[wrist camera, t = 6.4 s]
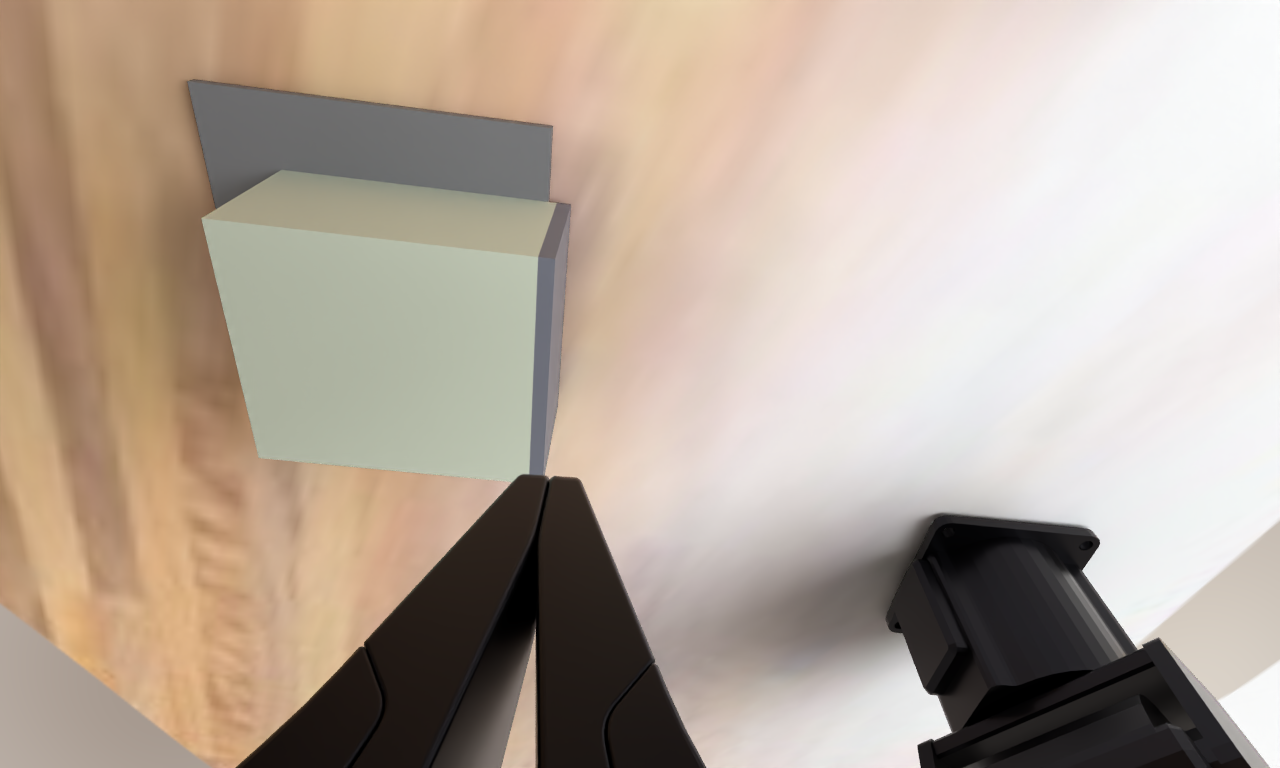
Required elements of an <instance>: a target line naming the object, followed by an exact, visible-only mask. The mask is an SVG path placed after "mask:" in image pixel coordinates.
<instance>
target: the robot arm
mask: <svg viewBox="0 0 1280 768" xmlns="http://www.w3.org/2000/svg"><path fill="white" fill-rule="evenodd" d="M946 528H948V529H946ZM944 529H945V530H944ZM1099 545H1100V540H1099V539H1098V538H1097V536H1096V535H1095V534H1094V532H1093V531H1091V530H1089V529H1083V528H1073V527H1062V526H1052V525H1042V524H1032V523H1021V522H1011V521H1001V520H990V519H980V518H970V517H960V516H942V517H939V518H937V519H936V520H934V522H933V523H932V525H931V527H930V529H929V531H928V533H927V535H926V537H925V539H924V541H923V543H922V545H921V547H920V549H919V551H918V553H917V555H916V557H915V559H914V561H913V562H912V563H911V564H910V567H909V569H908V571H907V573H906V575H905V577H904V579H903V581H902V583H901V585H900V587H899V589H898V591H897V593H896V595H895V597H894V599H893V601H892V605H891V607H890V609H889V611H888V614H887V616H886V622H887V625H888V627H889V630H891V631H892V632H896V633H903V635H904V637H905V640H906V643H907V645H908V648H909V651H910V653H911V656H912V659H913V661H914V664H915V666H916V669H917V672H918V674H919V677H920V680H921V682H922V685H923V687H924V689H925V690H926V691H927V692H928V694H930V695H937V696H938V698H939V701H940V703H941V706H942V708H943V711H944V713H945V716H946V718H947V721H948V724H949V726H950V729H951V731H952V733H950V734H948V735H946V736H944V737H941V738H939V739H937V740H935V741H934V740H933V739H930V740H927V741H925V742H923V743H921V744H918V753H919V759H920V766H921V768H1270V767H1269V766H1268V764H1267V763H1266V762H1265V761H1264V759H1263V758H1262V757H1261V755H1260V754H1259V753H1258V752H1257V750H1256V749H1255V748H1254V747H1253V745H1252V744H1251V743H1250V741H1249V740H1248V739H1247V738H1246V736H1245V735H1244V734H1243V733H1242V731H1241V730H1240V729H1239V727H1238V726H1237V725H1236V724H1235V722H1234V721H1233V720H1232V719H1231V717H1230V716H1229V715H1228V714H1227V712H1226V711H1225V710H1224V708H1223V707H1222V706H1221V705H1220V703H1219V702H1218V701H1217V700H1216V699H1215V697H1214V696H1213V695H1212V694H1211V693H1210V692H1209V691H1208V690H1207V689H1206V688H1205V686H1204V685H1203V684H1202V683H1201V682H1200V681H1199V680H1198V679H1197V678H1196V677H1195V676H1194V675H1193V674H1192V672H1191V671H1190V670H1189V669H1188V668H1187V667H1186V666H1185V665H1184V664H1183V663H1182V662H1181V661H1180V659H1178V657H1177V656H1176V655H1175V654H1174V653H1173V652H1172V651H1171V650H1170V649H1169V648H1168V647H1167V645H1166V644H1165V643H1164V642H1163V641H1162V640H1161V639H1160V638H1156V639H1154V640H1152V641H1150V642H1147V643H1145V644H1143V645H1142V646H1143V647H1144V648H1142V649H1140V650H1137V648H1136V647H1135V645H1134V644H1133V643H1132V641H1131V640H1130V638H1129V637H1128V636H1127V634H1126V633H1125V631H1124V630H1123V628H1122V627H1121V626H1120V624H1119V623H1118V621H1117V620H1116V619H1115V617H1114V616H1113V614H1112V613H1111V611H1110V610H1109V609H1108V607H1107V606H1106V604H1105V603H1104V602H1103V600H1102V599H1101V597H1100V596H1099V594H1098V593H1097V592H1096V590H1095V589H1094V587H1093V586H1092V584H1091V583H1090V582H1089V580H1088V579H1087V577H1086V576H1085V575H1084V573H1083V572H1082V570H1083V568H1084V567H1085V566H1086V564H1087V563H1088V561H1089V560H1090V558H1091V557H1092V556H1093V554H1094V553H1095V551H1096V550H1097V548H1098V547H1099ZM535 629H536V768H706V766H705V764H704V763H703V761H702V759H701V757H700V755H699V753H698V751H697V749H696V748H695V746H694V744H693V742H692V740H691V738H690V736H689V734H688V733H687V731H686V729H685V727H684V725H683V722H682V720H681V718H680V716H679V714H678V711H677V709H676V707H675V705H674V703H673V700H672V698H671V696H670V694H669V692H668V689H667V687H666V685H665V682H664V680H663V677H662V675H661V672H660V670H659V668H658V666H657V665H656V664H655V659H654V656H653V654H652V652H651V649H650V647H649V644H648V642H647V639H646V637H645V635H644V632H643V630H642V627H641V625H640V622H639V620H638V618H637V615H636V613H635V610H634V608H633V606H632V603H631V601H630V598H629V596H628V593H627V591H626V589H625V586H624V584H623V581H622V579H621V576H620V574H619V572H618V569H617V567H616V564H615V562H614V560H613V557H612V555H611V552H610V550H609V547H608V545H607V543H606V540H605V538H604V535H603V533H602V530H601V528H600V526H599V523H598V521H597V518H596V516H595V514H594V511H593V509H592V506H591V504H590V501H589V499H588V497H587V494H586V492H585V489H584V487H583V484H582V482H581V481H580V479H578V478H574V477H561V476H554V477H552V478H551V479H550V480H549V478H548V477H547V476H545V475H533V474H521V475H519V476H518V477H517V478H516V479H515V480H514V481H513V482H512V483H511V484H510V485H509V486H508V488H507V489H506V490H505V491H504V492H503V493H502V494H501V495H500V496H499V497H498V498H497V499H496V501H495V502H494V503H493V504H492V505H491V506H490V507H489V508H488V509H487V510H486V511H485V512H484V513H483V515H482V516H481V517H480V518H479V519H478V520H477V521H476V522H475V523H474V524H473V525H472V526H471V528H470V529H469V530H468V531H467V532H466V533H465V534H464V535H463V536H462V537H461V538H460V539H459V540H458V542H457V543H456V544H455V545H454V546H453V547H452V548H451V549H450V550H449V551H448V552H447V553H446V555H445V556H444V557H443V558H442V559H441V560H440V561H439V562H438V563H437V564H436V565H435V566H434V567H433V569H432V570H431V571H430V572H429V573H428V574H427V575H426V576H425V577H424V578H423V579H422V580H421V582H420V583H419V584H418V585H417V586H416V587H415V588H414V589H413V590H412V591H411V592H410V593H409V594H408V596H407V597H406V598H405V599H404V600H403V601H402V602H401V603H400V604H399V605H398V606H397V607H396V609H395V610H394V611H393V612H392V613H391V614H390V615H389V616H388V617H387V618H386V619H385V620H384V621H383V623H382V624H381V625H380V626H379V627H378V628H377V629H376V630H375V631H374V632H373V633H372V634H371V636H370V637H369V638H368V639H367V640H366V641H365V642H364V647H359V648H358V649H357V650H356V651H355V652H354V653H353V654H352V656H351V657H350V658H349V659H348V660H347V661H346V662H345V663H344V664H343V665H342V667H341V668H340V669H339V670H338V671H337V672H336V673H335V674H334V675H333V676H332V677H331V678H330V679H329V680H328V681H327V682H326V683H325V684H324V685H323V686H322V687H321V688H320V689H319V690H318V691H317V692H316V693H315V694H314V695H313V696H312V697H311V698H310V699H309V701H308V702H307V703H306V704H305V705H304V706H303V707H301V708H300V709H299V710H298V711H297V712H296V713H295V714H294V715H293V716H292V717H291V718H290V719H288V720H287V721H286V722H285V723H284V724H283V725H282V726H281V727H280V728H279V729H278V730H277V731H276V732H274V733H273V734H272V735H271V736H270V737H269V738H268V739H267V740H266V741H265V742H264V743H263V744H262V745H260V746H259V747H258V748H257V749H256V750H255V751H254V752H253V753H251V754H250V755H249V756H248V757H247V758H246V759H245V760H244V761H242V762H241V763H240V764H239V765H238V766H237V767H236V768H501V766H502V762H503V758H504V754H505V750H506V746H507V742H508V738H509V734H510V731H511V727H512V723H513V719H514V715H515V711H516V707H517V703H518V699H519V695H520V691H521V688H522V684H523V680H524V676H525V672H526V668H527V664H528V660H529V656H530V652H531V648H532V644H533V639H534V635H535Z"/></svg>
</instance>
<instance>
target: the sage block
mask: <svg viewBox="0 0 1280 768" xmlns="http://www.w3.org/2000/svg"><path fill="white" fill-rule="evenodd" d="M570 213H571V205H570V204H562V203H554V202H545V201H537V200H529V199H520V198H512V197H504V196H496V195H487V194H479V193H471V192H462V191H454V190H446V189H437V188H429V187H421V186H412V185H404V184H396V183H387V182H379V181H371V180H363V179H354V178H346V177H338V176H329V175H321V174H313V173H304V172H296V171H288V170H280V171H279V172H277V173H275V174H274V175H272V176H270V177H269V178H267V179H265V180H264V181H262V182H260V183H259V184H257V185H256V186H254V187H252V188H251V189H249V190H247V191H246V192H244V193H242V194H241V195H239V196H237V197H236V198H234V199H232V200H231V201H229V202H227V203H226V204H224V205H222V206H221V207H219V208H217V209H216V210H214V211H212V212H211V213H209V214H207V215H206V216H204V217H202V218H201V219H202V224H203V228H204V232H205V236H206V240H207V244H208V249H209V253H210V257H211V261H212V265H213V269H214V274H215V278H216V282H217V286H218V290H219V294H220V299H221V303H222V307H223V311H224V315H225V319H226V324H227V328H228V332H229V336H230V340H231V344H232V348H233V353H234V357H235V361H236V365H237V369H238V373H239V378H240V382H241V386H242V390H243V394H244V398H245V403H246V407H247V411H248V415H249V419H250V423H251V428H252V432H253V436H254V440H255V444H256V448H257V453H258V457H259V458H264V459H274V460H285V461H296V462H306V463H317V464H327V465H338V466H348V467H359V468H369V469H380V470H390V471H401V472H412V473H422V474H433V475H443V476H454V477H464V478H475V479H485V480H496V481H507V482H513V481H514V480H515V479H516V478H517V477H518V476H519V475H521V474H533V475H545V470H546V465H547V459H548V454H549V449H550V444H551V439H552V433H553V428H554V423H555V418H556V412H557V407H558V394H559V379H560V364H561V348H562V333H563V318H564V303H565V288H566V273H567V258H568V243H569V228H570Z"/></svg>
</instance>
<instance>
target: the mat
mask: <svg viewBox="0 0 1280 768" xmlns="http://www.w3.org/2000/svg"><path fill="white" fill-rule="evenodd" d="M187 83H188V87H189V92H190V96H191V100H192V105H193V109H194V114H195V118H196V123H197V127H198V132H199V136H200V141H201V145H202V150H203V154H204V159H205V163H206V167H207V172H208V176H209V181H210V185H211V190H212V194H213V199H214V203H215V208H216V209H217V208H219V207H221V206H222V205H224V204H226V203H227V202H229V201H231V200H232V199H234V198H236V197H237V196H239V195H241V194H242V193H244V192H246V191H247V190H249V189H251V188H252V187H254V186H256V185H257V184H259V183H260V182H262V181H264V180H265V179H267V178H269V177H270V176H272V175H274V174H275V173H277V172H279V171H280V170H288V171H296V172H304V173H313V174H321V175H329V176H338V177H346V178H354V179H363V180H371V181H379V182H387V183H396V184H404V185H412V186H421V187H429V188H437V189H446V190H454V191H462V192H471V193H479V194H487V195H496V196H504V197H512V198H520V199H529V200H537V201H545V202H549V194H550V174H551V154H552V135H553V126H550V125H542V124H534V123H527V122H519V121H511V120H503V119H496V118H488V117H480V116H472V115H465V114H457V113H449V112H442V111H434V110H426V109H418V108H411V107H403V106H395V105H388V104H380V103H372V102H364V101H357V100H349V99H341V98H334V97H326V96H318V95H310V94H303V93H295V92H287V91H279V90H272V89H264V88H256V87H249V86H241V85H233V84H225V83H218V82H210V81H202V80H195V79H193V80H190V81H187Z"/></svg>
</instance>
